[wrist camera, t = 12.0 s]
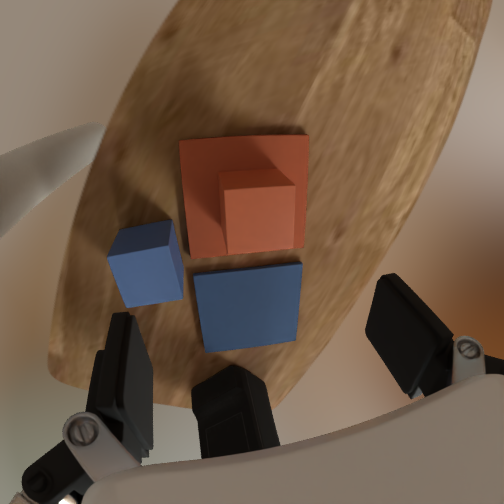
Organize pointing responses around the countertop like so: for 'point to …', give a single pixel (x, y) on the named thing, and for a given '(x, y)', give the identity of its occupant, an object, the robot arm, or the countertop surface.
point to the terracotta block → (256, 210)
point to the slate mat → (248, 306)
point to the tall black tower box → (233, 414)
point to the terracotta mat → (236, 159)
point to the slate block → (147, 264)
